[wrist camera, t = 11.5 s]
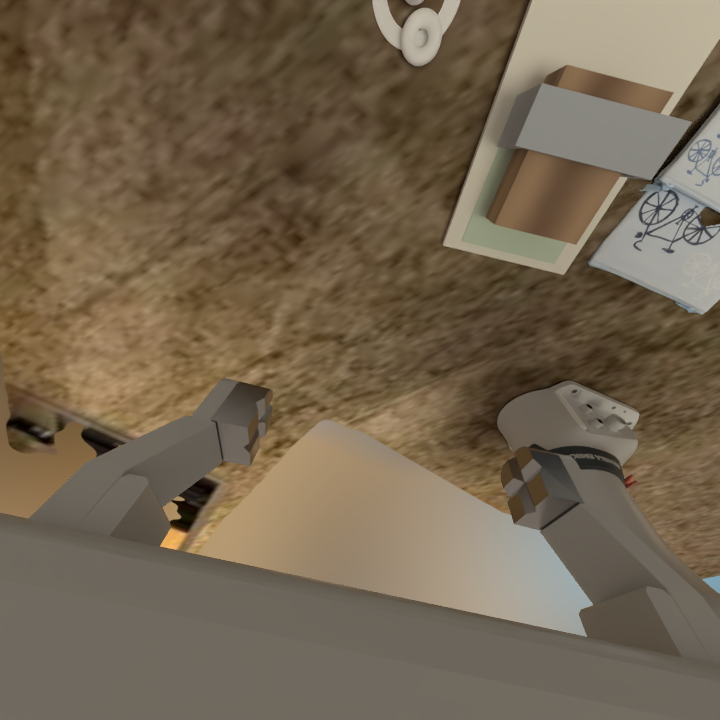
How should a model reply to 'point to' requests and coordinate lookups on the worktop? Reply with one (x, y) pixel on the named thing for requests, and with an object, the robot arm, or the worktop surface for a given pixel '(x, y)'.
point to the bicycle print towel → (674, 228)
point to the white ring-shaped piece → (416, 29)
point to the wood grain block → (565, 168)
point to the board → (591, 52)
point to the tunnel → (591, 131)
